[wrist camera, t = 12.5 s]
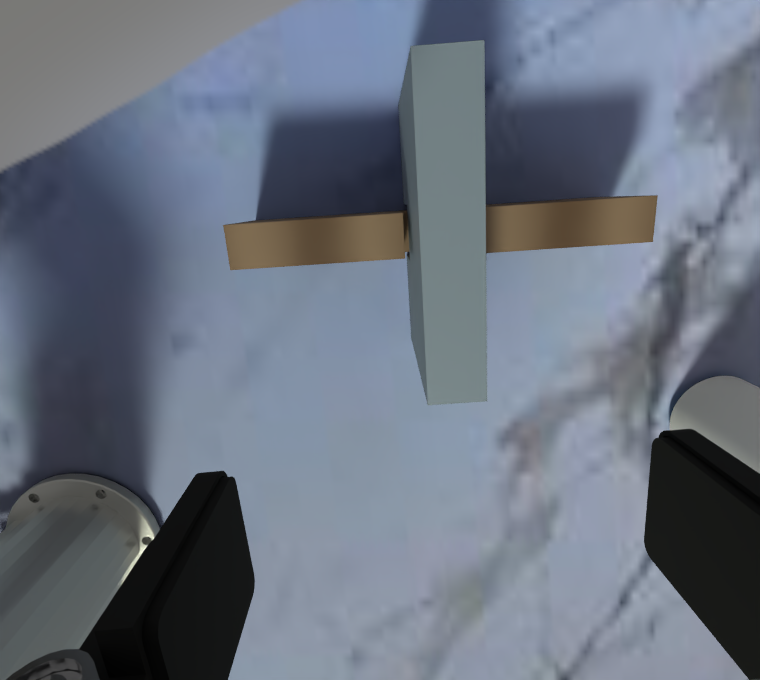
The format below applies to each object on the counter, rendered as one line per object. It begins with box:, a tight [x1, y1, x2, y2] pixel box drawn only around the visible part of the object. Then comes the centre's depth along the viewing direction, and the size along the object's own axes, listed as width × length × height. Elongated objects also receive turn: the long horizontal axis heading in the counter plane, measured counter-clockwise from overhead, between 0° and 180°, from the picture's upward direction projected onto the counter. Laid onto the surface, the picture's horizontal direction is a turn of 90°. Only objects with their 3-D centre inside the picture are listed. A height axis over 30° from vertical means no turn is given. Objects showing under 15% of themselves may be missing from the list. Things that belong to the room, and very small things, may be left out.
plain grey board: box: [398, 40, 487, 405], centre depth 27 cm, size 16×3×12 cm, turn 4°
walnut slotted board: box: [223, 195, 658, 270], centre depth 29 cm, size 24×2×7 cm, turn 94°
